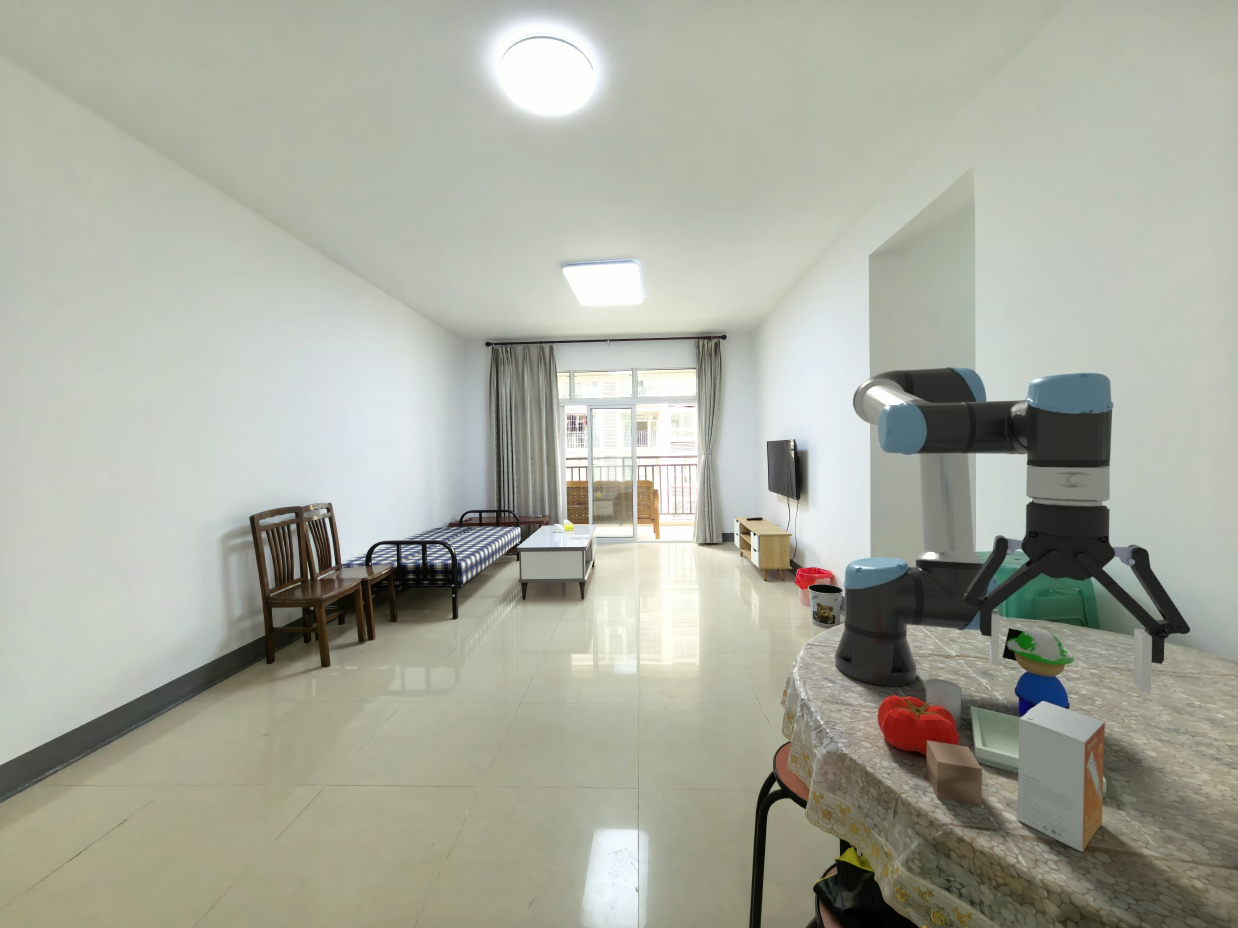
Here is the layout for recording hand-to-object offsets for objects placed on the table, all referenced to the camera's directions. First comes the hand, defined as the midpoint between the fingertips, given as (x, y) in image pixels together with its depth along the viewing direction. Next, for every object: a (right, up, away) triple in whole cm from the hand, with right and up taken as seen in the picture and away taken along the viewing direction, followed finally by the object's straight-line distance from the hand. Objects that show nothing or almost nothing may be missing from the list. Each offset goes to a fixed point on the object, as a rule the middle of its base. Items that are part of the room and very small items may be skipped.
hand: (1063, 674), depth 60 cm
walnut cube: (-9, -19, +7) cm, 22 cm away
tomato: (-8, -19, +16) cm, 26 cm away
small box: (0, -19, +1) cm, 19 cm away
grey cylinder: (+1, -18, +24) cm, 30 cm away
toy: (+19, -18, +25) cm, 36 cm away
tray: (+8, -18, +14) cm, 25 cm away
